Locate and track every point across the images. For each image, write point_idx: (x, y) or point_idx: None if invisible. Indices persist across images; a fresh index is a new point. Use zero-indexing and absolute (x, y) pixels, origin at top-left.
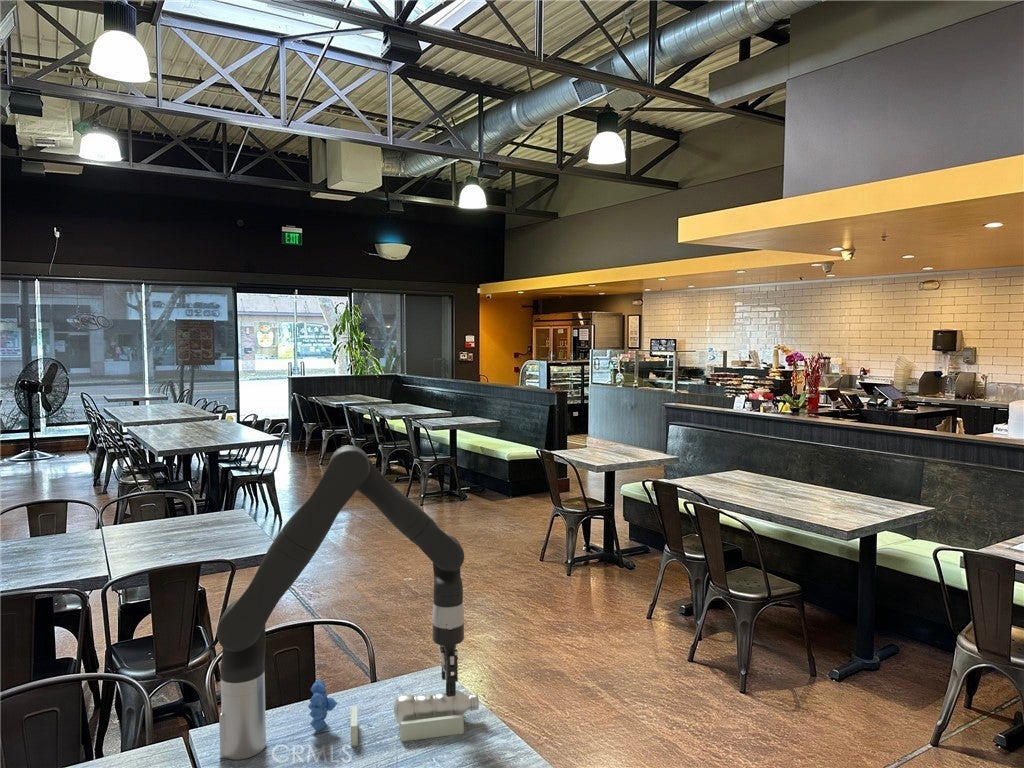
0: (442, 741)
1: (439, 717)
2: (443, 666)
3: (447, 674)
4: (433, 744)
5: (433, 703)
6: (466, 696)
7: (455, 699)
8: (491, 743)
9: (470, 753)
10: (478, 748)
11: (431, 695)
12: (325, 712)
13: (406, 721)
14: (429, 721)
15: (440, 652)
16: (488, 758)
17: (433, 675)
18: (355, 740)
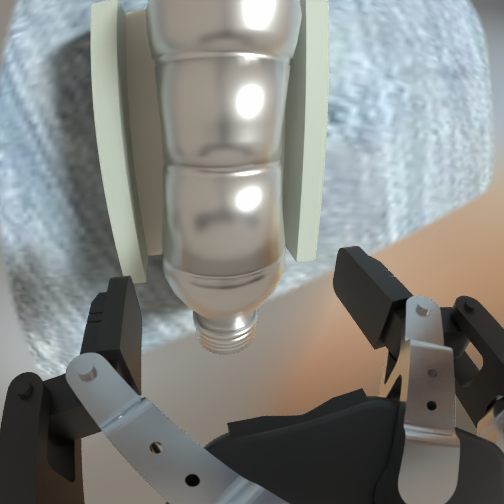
0: (86, 177)
1: (122, 185)
2: (122, 453)
3: (2, 437)
4: (70, 145)
5: (177, 166)
6: (222, 321)
7: (183, 285)
8: (82, 319)
9: (29, 266)
10: (54, 288)
11: (239, 160)
12: None
13: (113, 24)
14: (96, 137)
15: (400, 455)
16: (19, 307)
17: (476, 178)
18: None
